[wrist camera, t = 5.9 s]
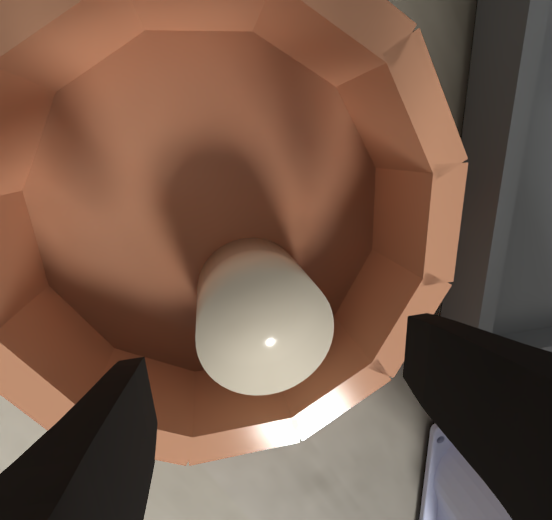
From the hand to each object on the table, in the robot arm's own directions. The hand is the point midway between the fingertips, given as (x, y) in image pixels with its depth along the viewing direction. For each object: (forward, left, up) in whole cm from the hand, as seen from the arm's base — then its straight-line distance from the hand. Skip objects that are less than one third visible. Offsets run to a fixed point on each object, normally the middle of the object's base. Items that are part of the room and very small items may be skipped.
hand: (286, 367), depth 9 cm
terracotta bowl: (+3, +1, -6) cm, 7 cm away
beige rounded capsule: (0, 0, -6) cm, 6 cm away
